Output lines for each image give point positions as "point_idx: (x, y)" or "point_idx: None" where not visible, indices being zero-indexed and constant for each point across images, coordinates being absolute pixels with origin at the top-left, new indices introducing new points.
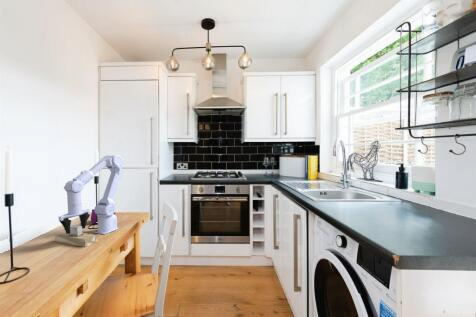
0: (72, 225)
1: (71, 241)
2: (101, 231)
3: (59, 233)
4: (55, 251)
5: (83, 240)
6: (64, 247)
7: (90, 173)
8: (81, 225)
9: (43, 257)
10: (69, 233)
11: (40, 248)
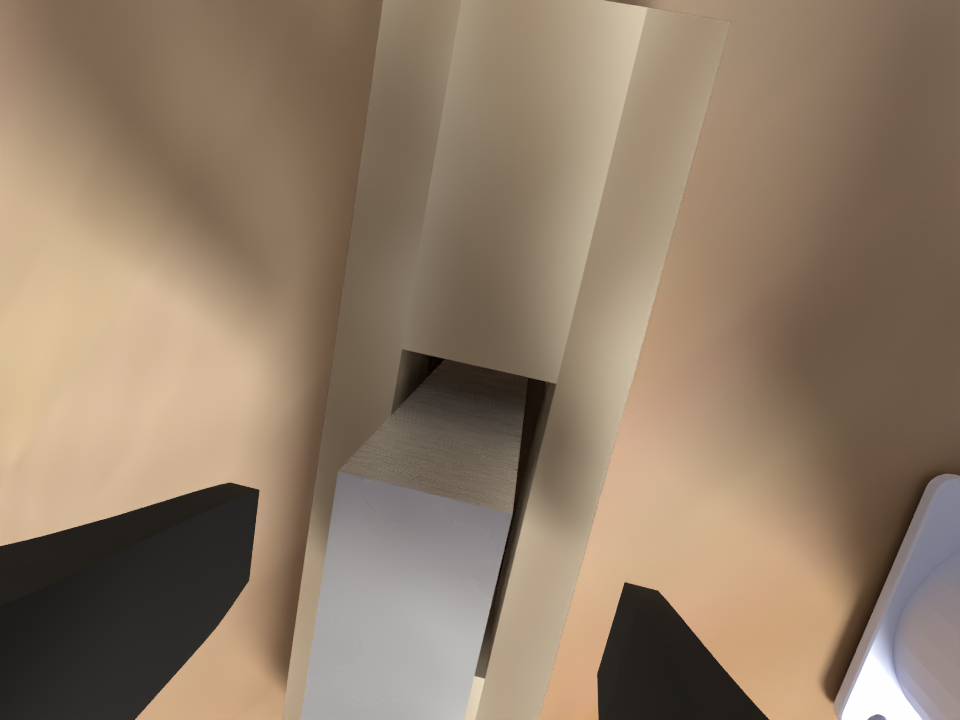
0: (453, 508)
1: None
2: (912, 666)
3: (488, 2)
4: (117, 452)
5: None
6: (247, 462)
7: None
8: (641, 654)
9: None
10: (406, 403)
11: (133, 96)
